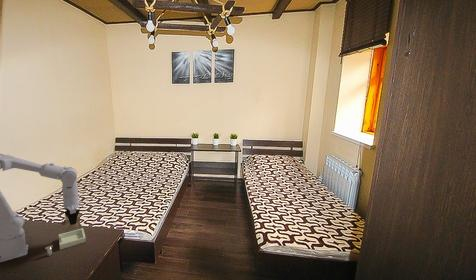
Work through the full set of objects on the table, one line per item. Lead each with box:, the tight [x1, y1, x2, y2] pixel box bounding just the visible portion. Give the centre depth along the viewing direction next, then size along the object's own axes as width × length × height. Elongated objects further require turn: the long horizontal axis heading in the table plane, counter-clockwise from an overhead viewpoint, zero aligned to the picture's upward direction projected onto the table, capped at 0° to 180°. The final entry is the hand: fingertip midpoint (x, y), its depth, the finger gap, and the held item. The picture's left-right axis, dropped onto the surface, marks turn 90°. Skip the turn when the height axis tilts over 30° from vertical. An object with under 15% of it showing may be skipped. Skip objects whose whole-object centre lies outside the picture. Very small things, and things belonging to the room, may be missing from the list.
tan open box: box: [61, 213, 82, 231], centre depth 109 cm, size 7×5×5 cm
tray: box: [58, 227, 87, 251], centre depth 110 cm, size 10×10×2 cm
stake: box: [44, 244, 53, 257], centre depth 100 cm, size 2×2×4 cm
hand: (72, 221), depth 109 cm, fingers closed on tan open box, 5 cm apart
